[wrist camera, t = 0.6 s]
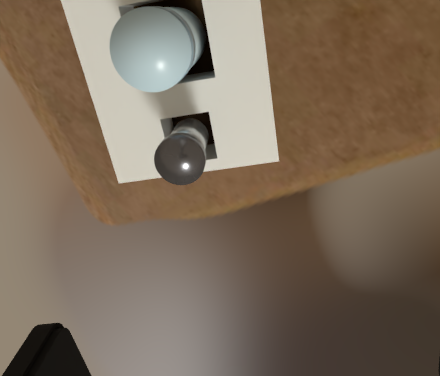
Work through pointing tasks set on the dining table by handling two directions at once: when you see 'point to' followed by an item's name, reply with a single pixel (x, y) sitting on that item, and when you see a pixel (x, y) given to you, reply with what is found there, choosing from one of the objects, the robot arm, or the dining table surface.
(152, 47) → the cylinder
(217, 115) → the housing
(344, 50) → the dining table surface
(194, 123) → the dark capped shaker
